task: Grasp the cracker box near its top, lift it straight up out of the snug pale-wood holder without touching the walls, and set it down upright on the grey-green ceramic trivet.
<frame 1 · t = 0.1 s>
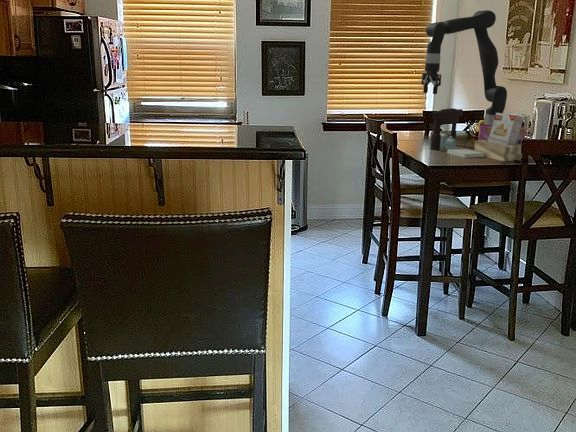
hand: (430, 93, 307), 29 cm above the table, tool pointing down, fingers open, 8 cm apart
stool: (444, 148, 316), on the table
holder: (499, 156, 290), on the table
cracker box: (497, 155, 290), point 1 cm above the table
gum box: (498, 151, 308), on the table
trivet: (465, 155, 293), on the table
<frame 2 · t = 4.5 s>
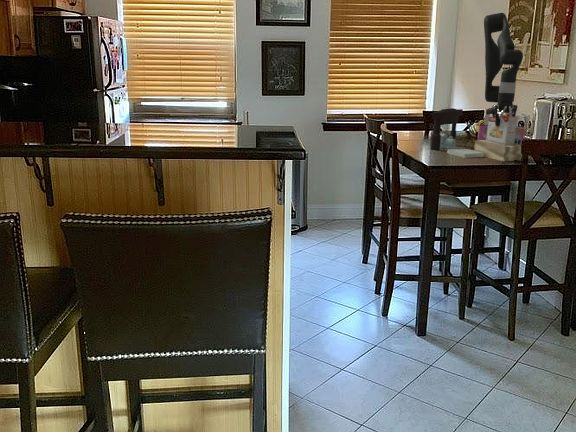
hand: (502, 125, 285), 16 cm above the table, tool pointing down, fingers closed on cracker box, 6 cm apart
cracker box: (497, 156, 290), resting in holder, touching gripper
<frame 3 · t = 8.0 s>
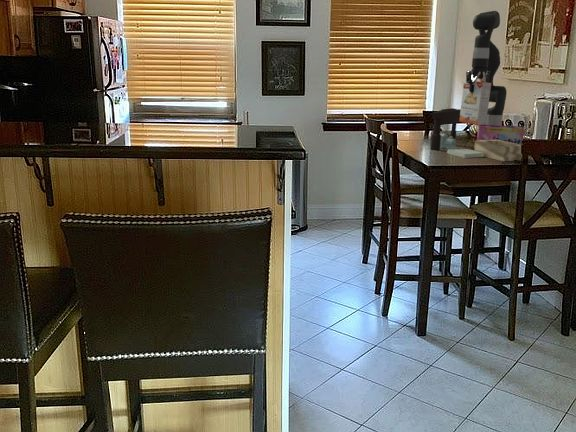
hand: (476, 92, 284), 32 cm above the table, tool pointing down, fingers closed on cracker box, 6 cm apart
cracker box: (471, 124, 288), point 16 cm above the table, touching gripper
when the fingers open (18 cm above the table, at t = 11.6 s): cracker box stays where it is, resting on trivet.
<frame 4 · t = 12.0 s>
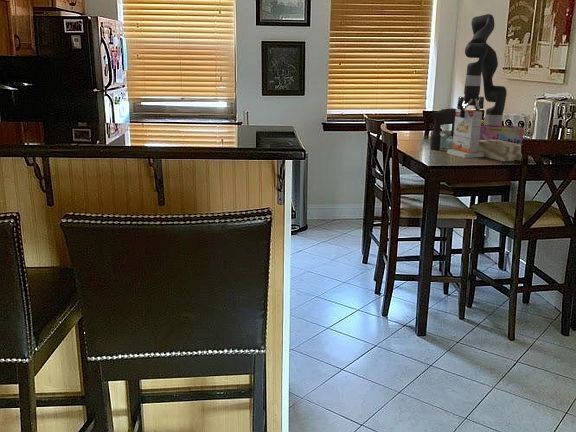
hand: (469, 117, 288), 19 cm above the table, tool pointing down, fingers open, 8 cm apart
cracker box: (464, 151, 293), point 2 cm above the table, touching trivet
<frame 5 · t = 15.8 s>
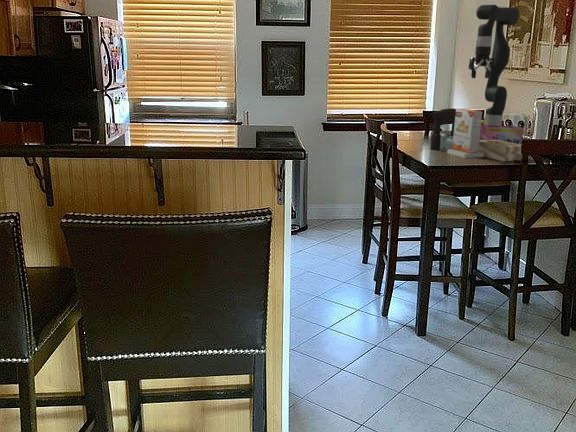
hand: (480, 78, 298), 38 cm above the table, tool pointing down, fingers open, 8 cm apart
at the end: cracker box inside the target area on the trivet (0.6 cm from its centre), point 1.8 cm above the trivet's base; cracker box tilted 0°; the gripper is holding nothing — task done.
